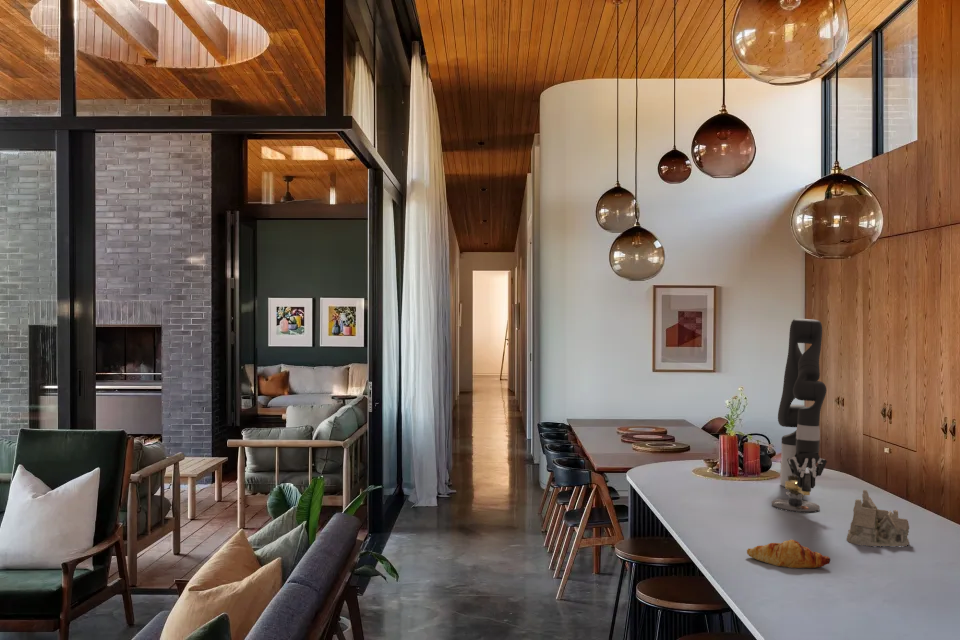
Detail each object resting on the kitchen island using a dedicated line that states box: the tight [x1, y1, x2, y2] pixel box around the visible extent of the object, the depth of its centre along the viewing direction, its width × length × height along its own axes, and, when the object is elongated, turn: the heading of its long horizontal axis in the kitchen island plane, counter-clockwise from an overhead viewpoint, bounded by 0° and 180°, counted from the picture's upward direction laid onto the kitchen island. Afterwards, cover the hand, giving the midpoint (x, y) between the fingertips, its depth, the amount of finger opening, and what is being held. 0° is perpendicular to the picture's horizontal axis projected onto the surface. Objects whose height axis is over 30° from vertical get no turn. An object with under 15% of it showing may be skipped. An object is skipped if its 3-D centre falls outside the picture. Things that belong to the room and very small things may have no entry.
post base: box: [771, 490, 821, 513], centre depth 273 cm, size 16×16×6 cm
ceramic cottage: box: [846, 489, 910, 547], centre depth 230 cm, size 16×16×15 cm
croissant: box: [746, 539, 831, 569], centre depth 207 cm, size 21×10×8 cm, turn 67°
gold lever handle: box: [784, 472, 812, 496], centre depth 269 cm, size 15×7×8 cm, turn 177°
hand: (805, 487), depth 263 cm, fingers closed on gold lever handle, 3 cm apart
